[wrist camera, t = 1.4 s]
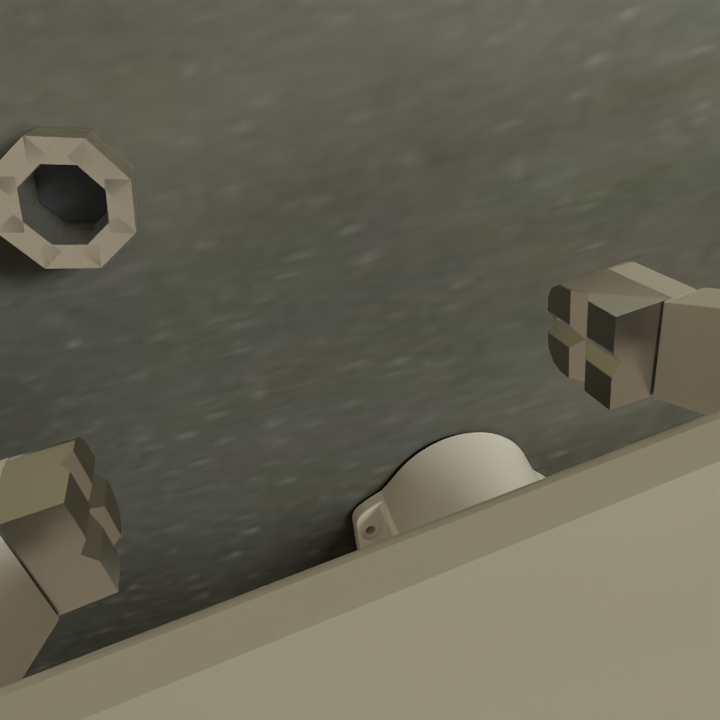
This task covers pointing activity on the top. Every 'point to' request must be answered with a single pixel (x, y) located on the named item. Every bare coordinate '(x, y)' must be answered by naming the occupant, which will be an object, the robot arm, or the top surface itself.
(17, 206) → the ring
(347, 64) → the top surface
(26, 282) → the top surface
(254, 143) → the top surface
